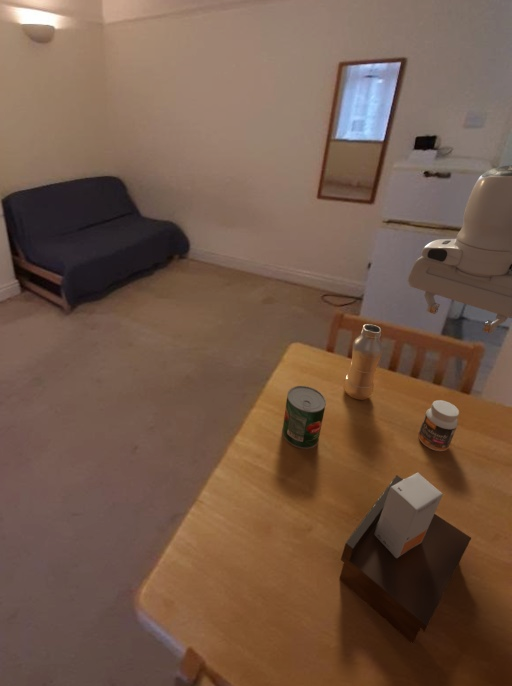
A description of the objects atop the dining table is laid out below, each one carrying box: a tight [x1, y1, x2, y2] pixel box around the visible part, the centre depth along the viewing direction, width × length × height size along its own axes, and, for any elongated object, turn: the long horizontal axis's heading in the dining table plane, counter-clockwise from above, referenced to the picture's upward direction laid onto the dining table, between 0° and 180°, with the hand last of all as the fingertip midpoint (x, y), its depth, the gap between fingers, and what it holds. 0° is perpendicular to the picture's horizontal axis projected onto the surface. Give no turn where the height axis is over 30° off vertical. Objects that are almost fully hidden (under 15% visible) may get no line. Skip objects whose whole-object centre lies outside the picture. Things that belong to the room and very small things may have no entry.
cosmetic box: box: [374, 472, 444, 558], centre depth 62 cm, size 6×4×12 cm
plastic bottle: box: [343, 323, 385, 401], centre depth 98 cm, size 6×7×20 cm
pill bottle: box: [418, 399, 460, 452], centre depth 86 cm, size 6×6×10 cm
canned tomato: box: [281, 385, 327, 450], centre depth 89 cm, size 8×8×11 cm
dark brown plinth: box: [339, 475, 472, 644], centre depth 65 cm, size 12×18×9 cm, turn 129°
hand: (458, 321), depth 79 cm, fingers open, 8 cm apart
